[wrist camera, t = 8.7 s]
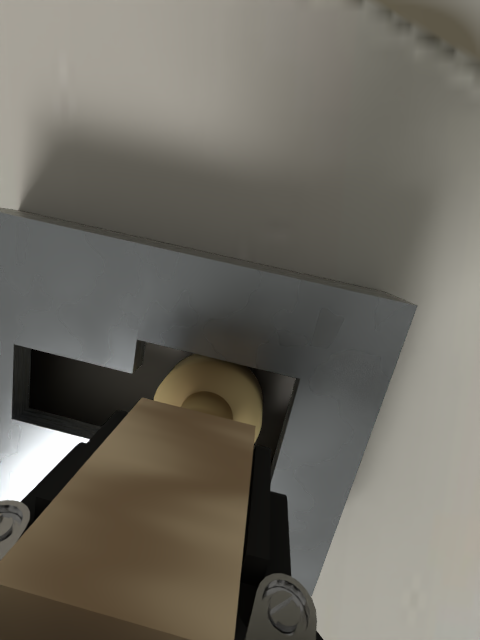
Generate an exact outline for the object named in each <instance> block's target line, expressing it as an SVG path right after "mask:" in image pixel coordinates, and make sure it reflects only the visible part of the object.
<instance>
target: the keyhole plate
mask: <svg viewBox="0 0 480 640" xmlns="http://www.w3.org/2000/svg"><path fill="white" fill-rule="evenodd" d="M416 308H417V305H415V304H412V303H410V302H407V301H405V300H403V299H400V298H398V297H395V296H393V295H391V294H388V293H386V292H383V291H379V290H374V289H370V288H365V287H361V286H356V285H352V284H347V283H343V282H338V281H334V280H329V279H325V278H320V277H316V276H311V275H307V274H302V273H298V272H293V271H289V270H284V269H280V268H275V267H271V266H266V265H262V264H257V263H253V262H248V261H244V260H239V259H235V258H230V257H226V256H221V255H217V254H212V253H208V252H203V251H199V250H194V249H190V248H185V247H181V246H176V245H172V244H167V243H163V242H158V241H154V240H149V239H145V238H140V237H136V236H131V235H127V234H122V233H118V232H113V231H109V230H104V229H100V228H95V227H91V226H86V225H82V224H78V223H73V222H69V221H64V220H60V219H55V218H51V217H46V216H42V215H37V214H33V213H28V212H24V211H19V210H13V209H6V208H0V501H2V500H15V501H19V502H20V501H21V500H22V499H23V498H24V497H25V496H26V495H27V494H28V493H29V492H30V491H31V490H32V489H33V488H34V487H35V486H36V485H37V484H38V483H39V482H40V481H41V480H42V479H43V478H44V477H45V476H46V475H47V474H48V473H49V472H50V471H51V470H52V469H53V468H54V467H55V466H56V465H57V464H58V463H59V462H60V461H61V460H62V459H63V458H64V457H65V456H66V455H67V454H68V453H69V452H70V451H71V450H72V449H73V448H74V447H75V446H76V445H77V444H78V443H80V442H84V443H87V442H88V441H89V440H90V439H91V438H92V437H93V436H94V434H95V433H96V432H97V431H98V430H99V429H100V428H101V426H97V425H93V424H90V423H86V422H82V421H78V420H74V419H70V418H67V417H63V416H59V415H55V414H51V413H47V412H43V411H40V410H36V409H32V408H29V391H30V369H31V349H35V350H39V351H43V352H47V353H51V354H55V355H59V356H63V357H67V358H71V359H75V360H79V361H83V362H87V363H91V364H95V365H99V366H103V367H107V368H111V369H115V370H120V371H124V372H128V373H134V372H135V371H136V370H137V369H138V368H139V367H140V366H141V365H142V364H143V357H144V350H145V343H146V342H149V343H153V344H158V345H162V346H166V347H170V348H174V349H178V350H182V351H186V352H191V353H195V354H199V355H203V356H207V357H211V358H215V359H220V360H224V361H228V362H232V363H236V364H240V365H244V366H249V367H253V368H257V369H261V370H265V371H269V372H273V373H277V374H282V375H286V376H290V377H294V378H296V380H295V383H294V387H293V391H292V394H291V398H290V401H289V405H288V408H287V412H286V416H285V419H284V423H283V426H282V430H281V433H280V437H279V441H278V444H277V448H276V451H275V455H274V459H273V462H272V466H271V488H270V491H273V492H276V493H280V494H284V495H286V496H287V502H288V521H289V539H290V558H291V577H293V578H294V579H296V580H297V581H299V582H300V583H301V584H302V585H303V586H304V588H305V589H306V590H307V591H308V593H309V595H310V596H312V594H313V591H314V588H315V586H316V583H317V580H318V577H319V575H320V572H321V569H322V566H323V564H324V561H325V558H326V555H327V553H328V550H329V547H330V544H331V542H332V539H333V536H334V533H335V531H336V528H337V525H338V522H339V520H340V517H341V514H342V511H343V509H344V506H345V503H346V500H347V498H348V495H349V492H350V489H351V487H352V484H353V481H354V478H355V476H356V473H357V470H358V468H359V465H360V462H361V459H362V457H363V454H364V451H365V448H366V446H367V443H368V440H369V437H370V435H371V432H372V429H373V426H374V424H375V421H376V418H377V415H378V413H379V410H380V407H381V404H382V402H383V399H384V396H385V393H386V391H387V388H388V385H389V382H390V380H391V377H392V374H393V371H394V369H395V366H396V363H397V360H398V358H399V355H400V352H401V349H402V347H403V344H404V341H405V338H406V336H407V333H408V330H409V327H410V325H411V322H412V319H413V316H414V314H415V311H416Z"/></svg>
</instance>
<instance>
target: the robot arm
mask: <svg viewBox="0 0 480 640" xmlns="http://www.w3.org/2000/svg"><path fill="white" fill-rule="evenodd" d="M127 414H128V412H124V411H120V410H118V411H116V412H115V413H114V414H113V415H112V417H111V418H110V419H109V420H108V421H107V422H106V423H105V424H104V425H103V426H102V427H101V428H100V429H99V430H98V431H97V432H96V433H95V434H94V436H93V437H92V438H91V439H90V440H89V441H88V442H87V443H84V442H80V443H78V444H77V445H76V446H75V447H74V448H73V449H72V450H71V451H70V452H69V453H68V454H67V455H66V456H65V457H64V458H63V459H62V460H61V461H60V462H59V463H58V464H57V465H56V466H55V467H54V468H53V469H52V470H51V471H50V472H49V473H48V474H47V475H46V476H45V477H44V478H43V479H42V480H41V481H40V482H39V483H38V484H37V485H36V486H35V487H34V488H33V489H32V490H31V491H30V492H29V493H28V494H27V495H26V496H25V497H24V498H23V499H22V500H21V501H20V502H19V501H15V500H2V501H0V561H1V560H2V558H3V557H4V556H5V555H6V554H7V553H8V551H9V550H10V549H11V548H12V547H13V546H14V545H15V543H16V542H17V541H18V540H19V539H20V538H21V536H22V535H23V534H24V533H25V532H26V531H27V530H28V528H29V527H30V526H31V525H32V524H33V523H34V521H35V520H36V519H37V518H38V517H39V516H40V515H41V513H42V512H43V511H44V510H45V509H46V508H47V506H48V505H49V504H50V503H51V502H52V501H53V500H54V498H55V497H56V496H57V495H58V494H59V493H60V491H61V490H62V489H63V488H64V487H65V486H66V485H67V483H68V482H69V481H70V480H71V479H72V478H73V477H74V475H75V474H76V473H77V472H78V471H79V470H80V468H81V467H82V466H83V465H84V464H85V463H86V462H87V460H88V459H89V458H90V457H91V456H92V455H93V453H94V452H95V451H96V450H97V449H98V448H99V447H100V445H101V444H102V443H103V442H104V441H105V440H106V438H107V437H108V436H109V435H110V434H111V433H112V432H113V430H114V429H115V428H116V427H117V426H118V425H119V423H120V422H121V421H122V420H123V419H124V418H125V417H126V415H127ZM270 488H271V449H270V448H266V447H262V446H258V445H255V448H254V449H253V457H252V467H251V477H250V487H249V497H248V507H247V517H246V527H245V537H244V547H243V557H242V567H241V577H240V587H239V597H238V607H237V617H236V627H235V637H234V640H323V639H322V637H321V636H320V635H319V633H318V632H317V631H316V626H317V618H316V609H315V606H314V603H313V600H312V598H311V596H310V595H309V593H308V591H307V590H306V589H305V588H304V586H303V585H302V584H301V583H300V582H299V581H297V580H296V579H294V578H293V577H291V558H290V539H289V521H288V502H287V496H286V495H284V494H280V493H276V492H273V491H270Z"/></svg>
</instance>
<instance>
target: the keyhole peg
mask: <svg viewBox="0 0 480 640" xmlns="http://www.w3.org/2000/svg"><path fill="white" fill-rule="evenodd" d="M262 412H263V395H262V390H261V387H260V384H259V382H258V380H257V378H256V377H255V375H254V374H253V373H252V371H251V370H250V369H249V368H248V367H247V366H244V365H240V364H236V363H232V362H228V361H224V360H220V359H215V358H211V357H207V356H203V355H199V354H194V355H191V356H189V357H187V358H185V359H183V360H182V361H180V362H179V363H178V364H177V365H176V366H175V367H174V368H173V369H172V370H171V372H170V373H169V374H168V375H167V377H166V378H165V379H164V380H163V382H162V383H161V384H160V386H159V387H158V389H157V391H156V394H155V396H154V400H150V399H146V398H141V399H140V400H139V402H138V403H137V404H136V405H135V406H134V407H133V408H132V410H131V411H130V412H129V413H128V414H127V415H126V417H125V418H124V419H123V420H122V421H121V422H120V423H119V425H118V426H117V427H116V428H115V429H114V430H113V432H112V433H111V434H110V435H109V436H108V437H107V438H106V440H105V441H104V442H103V443H102V444H101V445H100V447H99V448H98V449H97V450H96V451H95V452H94V453H93V455H92V456H91V457H90V458H89V459H88V460H87V462H86V463H85V464H84V465H83V466H82V467H81V468H80V470H79V471H78V472H77V473H76V474H75V475H74V477H73V478H72V479H71V480H70V481H69V482H68V483H67V485H66V486H65V487H64V488H63V489H62V490H61V491H60V493H59V494H58V495H57V496H56V497H55V498H54V500H53V501H52V502H51V503H50V504H49V505H48V506H47V508H46V509H45V510H44V511H43V512H42V513H41V515H40V516H39V517H38V518H37V519H36V520H35V521H34V523H33V524H32V525H31V526H30V527H29V528H28V530H27V531H26V532H25V533H24V534H23V535H22V536H21V538H20V539H19V540H18V541H17V542H16V543H15V545H14V546H13V547H12V548H11V549H10V550H9V551H8V553H7V554H6V555H5V556H4V557H3V558H2V560H1V561H0V640H234V637H235V627H236V617H237V607H238V597H239V587H240V577H241V567H242V557H243V547H244V537H245V527H246V517H247V507H248V497H249V487H250V477H251V467H252V457H253V447H254V443H255V441H256V439H257V437H258V436H259V433H260V430H261V424H262Z"/></svg>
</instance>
